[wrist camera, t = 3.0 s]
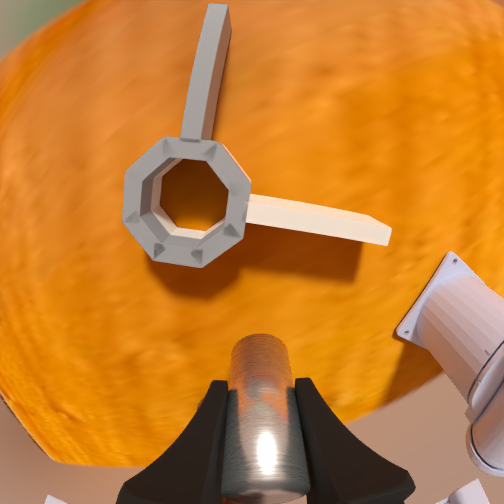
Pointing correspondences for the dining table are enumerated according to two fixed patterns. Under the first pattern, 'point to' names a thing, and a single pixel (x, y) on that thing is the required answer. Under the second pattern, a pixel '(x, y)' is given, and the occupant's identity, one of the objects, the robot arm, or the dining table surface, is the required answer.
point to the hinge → (227, 169)
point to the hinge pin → (262, 426)
